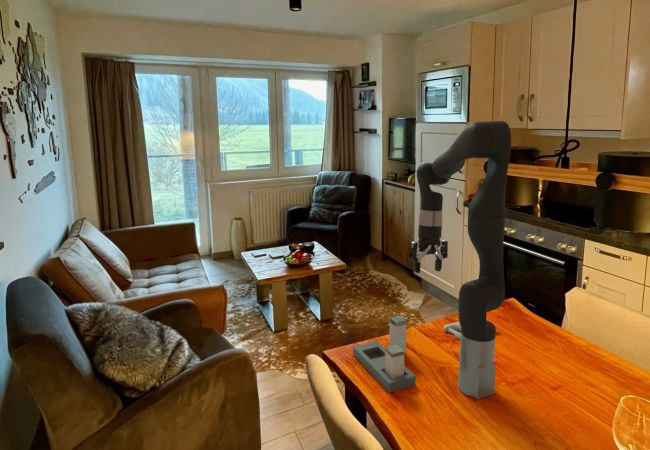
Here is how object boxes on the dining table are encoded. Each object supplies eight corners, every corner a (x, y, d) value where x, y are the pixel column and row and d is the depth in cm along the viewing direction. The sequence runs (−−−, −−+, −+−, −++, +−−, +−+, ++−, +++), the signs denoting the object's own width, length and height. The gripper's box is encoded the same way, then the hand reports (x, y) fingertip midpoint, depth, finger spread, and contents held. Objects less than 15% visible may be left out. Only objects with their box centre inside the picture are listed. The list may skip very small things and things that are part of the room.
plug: (405, 353, 145) (406, 320, 142) (395, 355, 144) (396, 322, 141) (399, 347, 149) (399, 315, 146) (389, 350, 147) (389, 317, 144)
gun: (480, 313, 165) (499, 324, 156) (480, 321, 166) (498, 333, 157) (439, 323, 160) (456, 336, 151) (439, 331, 161) (456, 344, 152)
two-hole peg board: (415, 385, 127) (416, 352, 125) (389, 392, 124) (389, 360, 122) (376, 348, 148) (376, 320, 146) (353, 354, 145) (352, 326, 142)
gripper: (419, 225, 137) (417, 276, 139) (454, 224, 143) (451, 272, 145) (405, 223, 143) (403, 270, 145) (439, 222, 149) (437, 267, 151)
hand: (427, 271), depth 145 cm, fingers open, 8 cm apart
